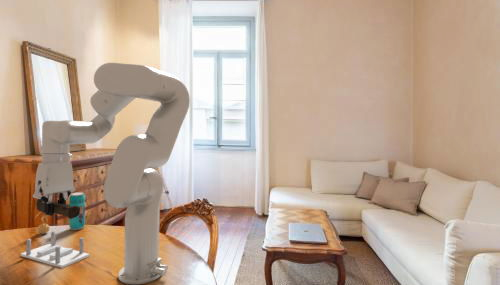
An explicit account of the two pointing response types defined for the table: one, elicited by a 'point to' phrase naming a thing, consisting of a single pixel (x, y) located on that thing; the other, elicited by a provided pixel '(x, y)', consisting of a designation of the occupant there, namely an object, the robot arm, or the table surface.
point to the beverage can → (79, 221)
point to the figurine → (43, 225)
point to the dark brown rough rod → (61, 209)
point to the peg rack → (55, 253)
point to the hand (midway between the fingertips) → (55, 212)
